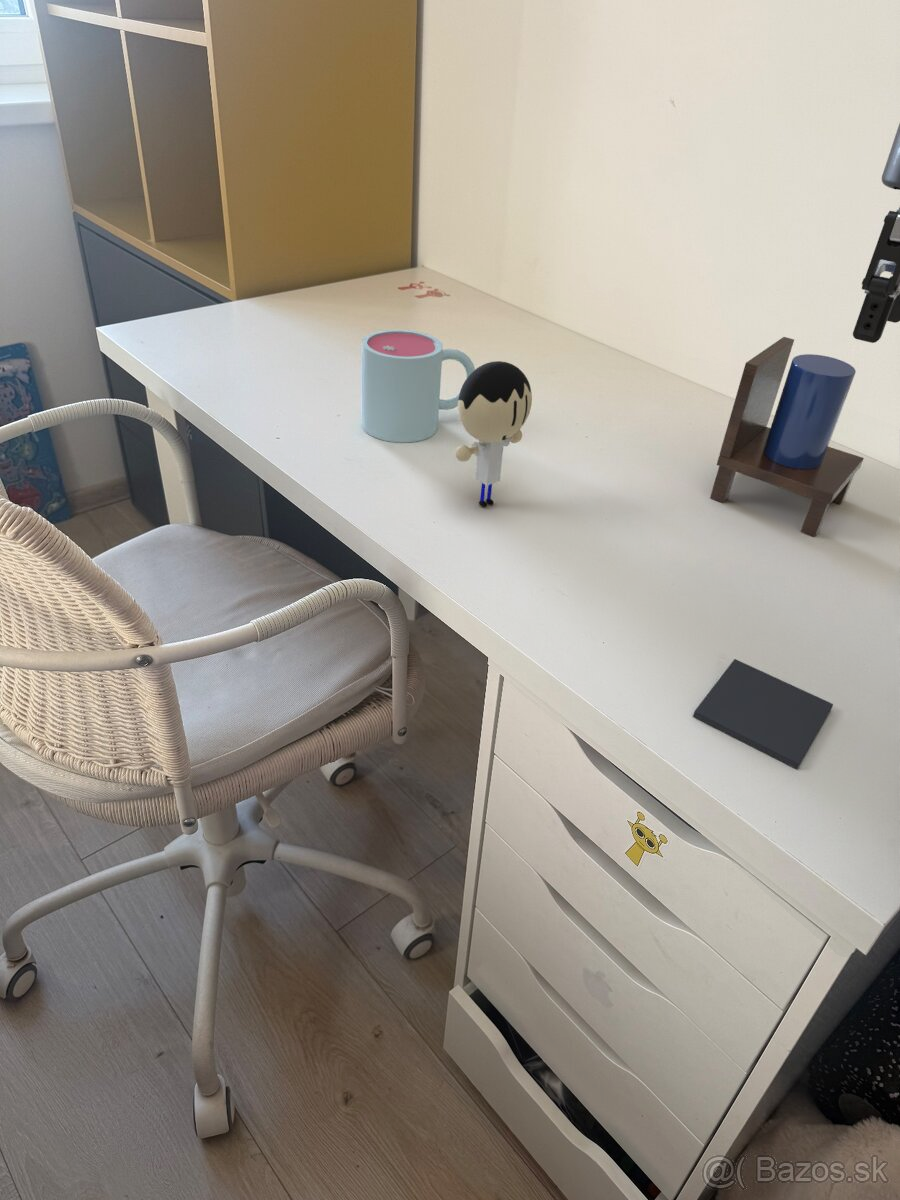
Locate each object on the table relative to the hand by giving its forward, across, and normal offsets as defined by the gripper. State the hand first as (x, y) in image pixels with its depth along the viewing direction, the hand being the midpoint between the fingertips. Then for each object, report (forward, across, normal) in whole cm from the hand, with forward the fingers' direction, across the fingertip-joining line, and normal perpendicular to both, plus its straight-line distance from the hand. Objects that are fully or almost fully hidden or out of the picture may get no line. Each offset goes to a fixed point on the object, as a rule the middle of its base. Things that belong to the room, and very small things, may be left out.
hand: (877, 329), depth 75 cm
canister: (+15, +3, +4) cm, 16 cm away
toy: (+21, -20, +28) cm, 40 cm away
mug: (+20, -10, +44) cm, 50 cm away
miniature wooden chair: (+20, +3, +4) cm, 21 cm away
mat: (+21, -31, -6) cm, 38 cm away
